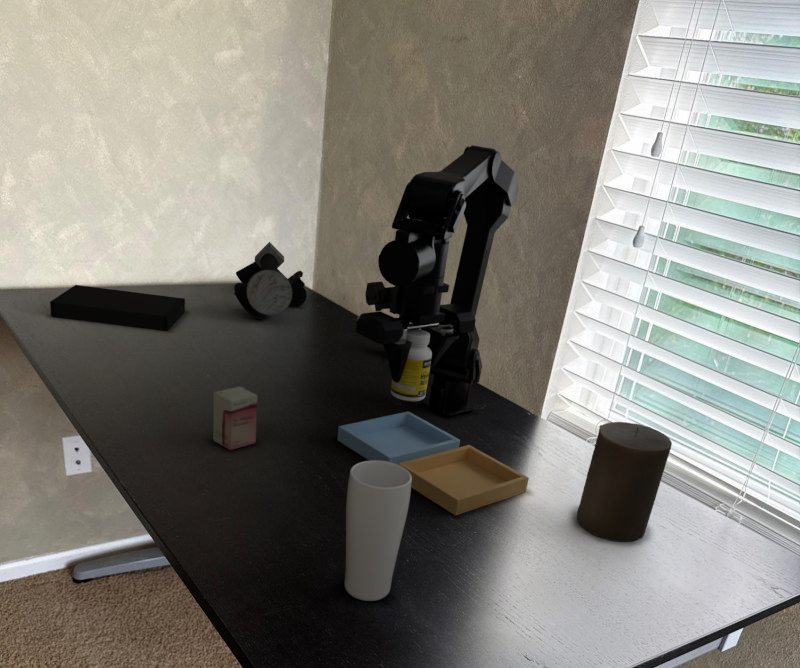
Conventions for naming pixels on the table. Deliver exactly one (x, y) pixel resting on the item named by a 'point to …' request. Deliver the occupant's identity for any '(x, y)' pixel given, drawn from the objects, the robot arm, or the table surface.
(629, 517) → the pillar candle
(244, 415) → the small box
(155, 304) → the external hard drive
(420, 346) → the supplement bottle
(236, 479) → the table surface
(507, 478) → the tray
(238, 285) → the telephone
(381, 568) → the drinking glass
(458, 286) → the robot arm
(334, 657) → the table surface
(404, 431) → the tray
